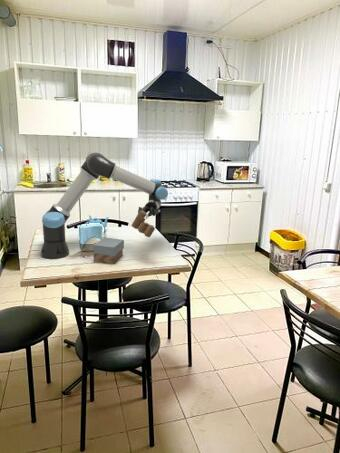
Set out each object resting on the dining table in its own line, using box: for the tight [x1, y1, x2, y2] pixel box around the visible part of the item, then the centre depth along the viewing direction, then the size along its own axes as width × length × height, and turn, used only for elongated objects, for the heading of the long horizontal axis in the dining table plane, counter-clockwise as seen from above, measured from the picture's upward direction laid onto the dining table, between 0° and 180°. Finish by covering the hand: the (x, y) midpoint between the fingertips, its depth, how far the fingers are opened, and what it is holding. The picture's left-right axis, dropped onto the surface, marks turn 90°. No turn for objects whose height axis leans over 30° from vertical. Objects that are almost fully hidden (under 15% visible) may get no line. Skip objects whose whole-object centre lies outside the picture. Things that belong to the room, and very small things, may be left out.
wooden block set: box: [130, 210, 156, 238], centre depth 190 cm, size 18×9×10 cm, turn 26°
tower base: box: [93, 248, 124, 265], centre depth 192 cm, size 12×14×5 cm
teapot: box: [84, 215, 109, 231], centre depth 239 cm, size 15×15×10 cm
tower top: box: [93, 237, 125, 256], centre depth 191 cm, size 12×14×5 cm
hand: (143, 216), depth 188 cm, fingers closed on wooden block set, 2 cm apart
